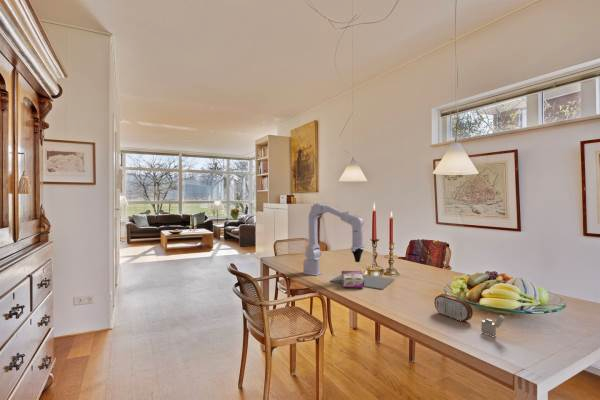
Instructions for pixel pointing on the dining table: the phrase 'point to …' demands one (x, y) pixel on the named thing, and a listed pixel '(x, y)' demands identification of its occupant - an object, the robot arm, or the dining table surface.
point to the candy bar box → (352, 279)
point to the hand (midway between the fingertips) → (357, 262)
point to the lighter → (491, 325)
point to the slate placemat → (370, 281)
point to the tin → (453, 307)
